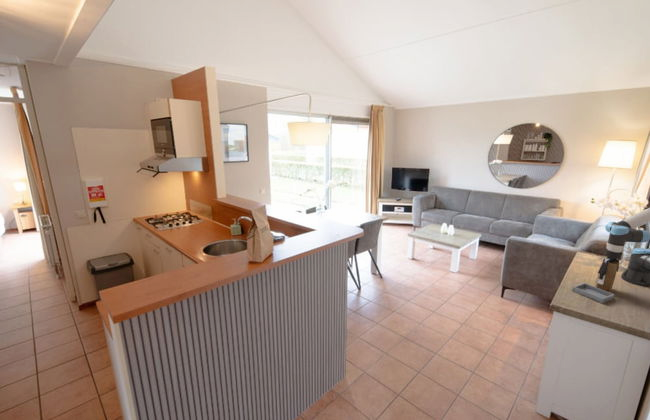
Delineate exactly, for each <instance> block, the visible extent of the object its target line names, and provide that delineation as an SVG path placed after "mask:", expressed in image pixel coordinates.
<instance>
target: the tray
mask: <svg viewBox="0 0 650 420" xmlns="http://www.w3.org/2000/svg"><path fill="white" fill-rule="evenodd" d="M571 291H572V292H573V293H576V294H578V295H581V296H583V297H586V298H588V299H589V300H592V301H595V302H596V303H600V304H604V303H607V302H610V301H612V300H614V299H615V298H614V297H615V294H614V293H612V292H607V291H604V290H602V289H599V288H596V286H594V285H591V284H588V283H586V282H582V283H580V284H577V285H574V286H572V290H571Z"/></svg>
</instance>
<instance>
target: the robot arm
mask: <svg viewBox="0 0 650 420" xmlns="http://www.w3.org/2000/svg"><path fill="white" fill-rule="evenodd" d="M648 223H650V207H648V208H646V209H644V210H641V211H639V212H637V213H635V214H633V215H631V216H628V217H627V218H624V219H622V220H620V221H617V222H616V221H609V222H607V224H605V228H604V229H605V231H606V232H607V233H609V235H608V240H607V243H606V249H605V251H604V255H605V256H606V258H603V261H602V263H601V265H600V267H599V270H598V271H597V275H599V278H598V277H597V278H598V282H597V281H596V283H599V284H602V285H603V283H604V279H605V276H606V275H605V274H606V272H607V269H608V268H607V266H608V264H609V262H610V263H614V262H617V261H618V268H617V272H616V273H618V272H619V269H620V259H621V258H622V255H623V252H624V250H625V245H626V243H639V244H640V243H647V242H649V240H650V233H649V231H648V230H645V229H637V228H639V227H641V226H643V225H646V224H648ZM620 278H621V280H623V281H626V282H627V283H630V284H633V285H637V286H640V287H641V286H643V287H650V248H643V247H636V248H633V249H632V251H631V253H630V258H629V261H628V264H627V267H626V268H625V269H624V271H623V272H622V273H621V276H620Z"/></svg>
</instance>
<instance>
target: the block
mask: <svg viewBox="0 0 650 420" xmlns="http://www.w3.org/2000/svg"><path fill="white" fill-rule="evenodd" d="M607 268H608V269H607V272H606V274H605V275H606V276H605V279H604V283H603V285H602V284H599V283H597V282H598V278H599V274H597V278H596V283H595V287H596V288H599V289H602V290H604V291H607V292H609V293H612V289H613V287H614V283H615V279H616V275H617V273H618V272H617V268H618V261H617V262H614V263H610V262H609V264H608V266H607Z"/></svg>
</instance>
